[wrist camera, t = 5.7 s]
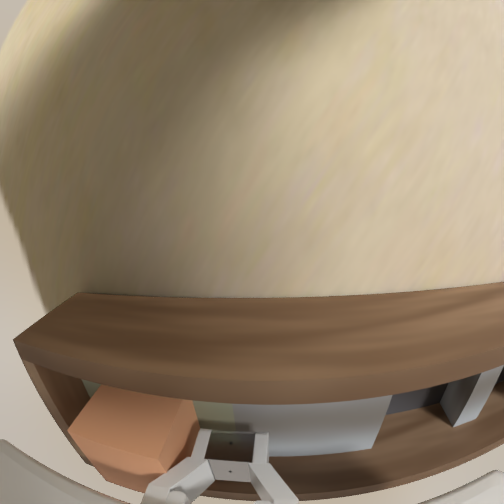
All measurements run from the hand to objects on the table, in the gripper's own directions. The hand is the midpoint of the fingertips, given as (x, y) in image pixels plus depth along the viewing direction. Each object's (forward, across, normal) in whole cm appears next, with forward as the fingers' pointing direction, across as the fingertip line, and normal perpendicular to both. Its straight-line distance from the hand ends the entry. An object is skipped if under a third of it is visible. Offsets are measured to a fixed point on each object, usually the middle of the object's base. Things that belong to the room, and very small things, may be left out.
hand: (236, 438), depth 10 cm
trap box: (+4, -6, 0) cm, 7 cm away
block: (+1, +4, 0) cm, 4 cm away
